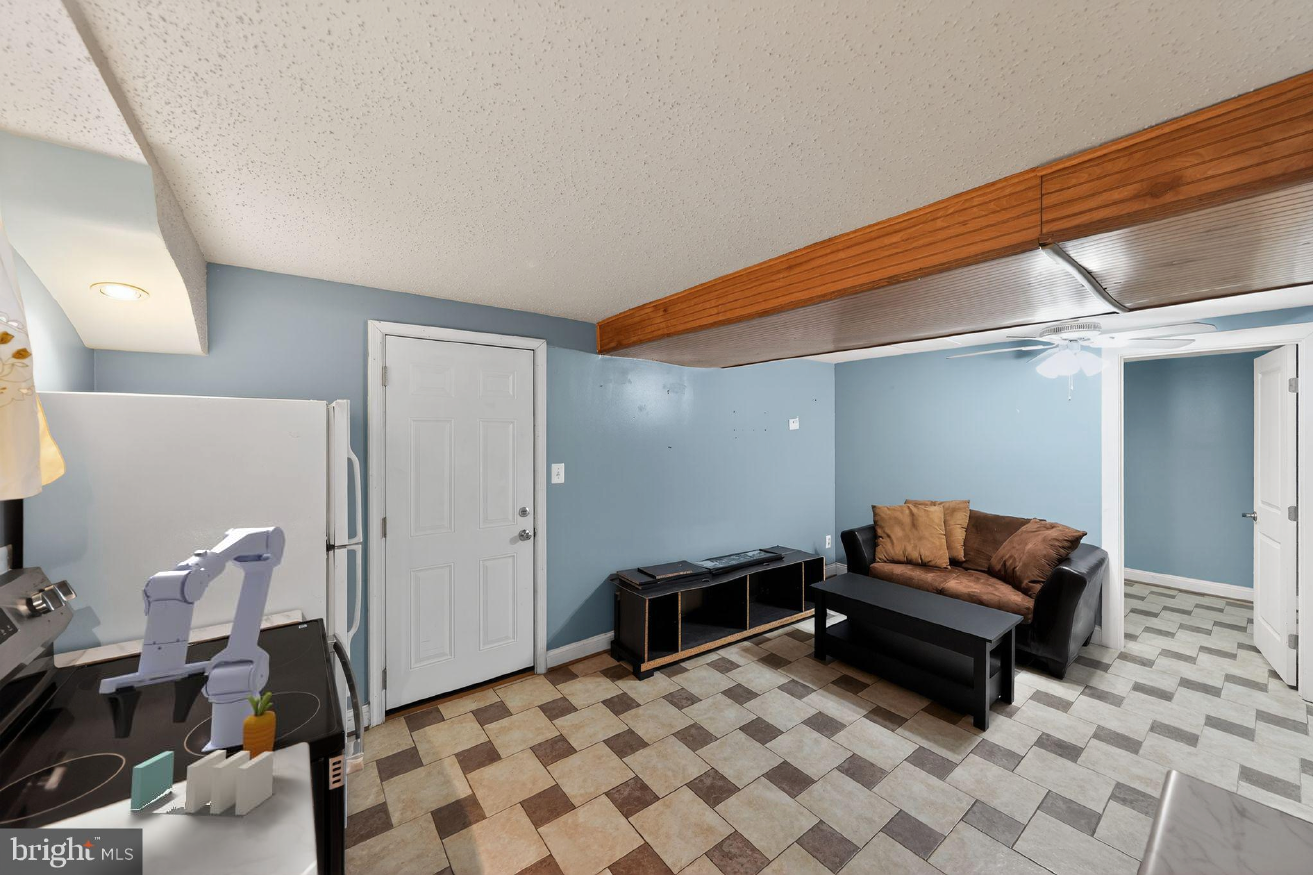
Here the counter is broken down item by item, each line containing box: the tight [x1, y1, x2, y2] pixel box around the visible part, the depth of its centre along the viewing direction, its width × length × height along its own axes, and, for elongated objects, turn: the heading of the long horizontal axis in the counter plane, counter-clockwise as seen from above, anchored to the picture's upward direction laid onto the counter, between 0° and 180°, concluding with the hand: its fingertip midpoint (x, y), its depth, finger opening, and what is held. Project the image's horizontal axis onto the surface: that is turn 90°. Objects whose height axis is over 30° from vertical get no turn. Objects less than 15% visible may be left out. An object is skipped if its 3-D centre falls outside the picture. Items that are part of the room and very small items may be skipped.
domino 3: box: [235, 751, 275, 816], centre depth 82 cm, size 2×5×7 cm, turn 174°
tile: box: [129, 750, 175, 810], centre depth 84 cm, size 2×5×7 cm, turn 174°
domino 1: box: [185, 749, 227, 813], centre depth 83 cm, size 2×5×7 cm, turn 174°
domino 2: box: [210, 750, 250, 814], centre depth 82 cm, size 2×5×7 cm, turn 174°
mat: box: [165, 792, 276, 818], centre depth 82 cm, size 16×6×1 cm, turn 84°
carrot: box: [242, 691, 277, 761], centre depth 90 cm, size 5×5×15 cm
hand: (151, 729), depth 82 cm, fingers open, 7 cm apart
